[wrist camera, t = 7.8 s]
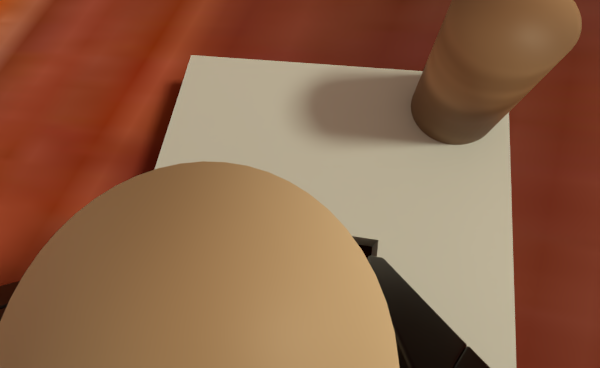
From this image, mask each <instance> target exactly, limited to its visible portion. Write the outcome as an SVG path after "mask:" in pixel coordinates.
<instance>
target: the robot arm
mask: <svg viewBox="0 0 600 368" xmlns="http://www.w3.org/2000/svg"><path fill="white" fill-rule="evenodd" d="M367 260H368V262H369V264H370V265H371V267H372V269H373V271H374V273H375V275H376V277H377V279H378V282H379V284H380V287H381V289H382V292H383V294H384V297H385V300H386V302H387V305H388V309H389V313H390V317H391V321H392V324H393V328H394V332H395V338H396V345H397V352H398V359H399V368H490V367H489V366H488V365H487V364H486V363H485V362H484V361H483V360H482V359H481V358H480V357H479V356H478V355H477V354H476V353H475V352H474V351H473V350H472V349H471V348H470V347H469V346H467V345H466V343H465V342H464V341H463V340H462V339H461V338H460V337H459V336H458V335H457V334H456V333H455V332H454V331H453V330H452V329H451V328H450V327H449V326H448V325H447V323H446V322H445V321H444V320H443V319H442V318H441V317H440V316H439V315H438V314H437V313H436V312H435V311H434V310H433V309H432V308H431V307H430V306H429V305H428V304H427V303H426V302H425V301H424V300H423V299H422V298H421V296H420V295H419V294H418V293H417V292H416V291H415V290H414V289H413V288H412V287H411V286H410V285H409V284H408V283H407V282H406V281H405V280H404V279H403V278H402V277H401V276H400V275H399V274H398V273H397V272H396V271H395V269H394V268H393V267H392V266H391V265H390V264H389V263H388V262H387V261H386V260H385V259H384V258H382V257H376V256H368V258H367ZM19 282H20V281H18V282H14V283H10V284H7V285H3V286H0V321H1V319H2V316H3V314H4V312H5V309H6V307H7V305H8V303H9V300H10V298H11V296H12V295H13V293H14V291H15V289H16V288H17V286H18V284H19Z"/></svg>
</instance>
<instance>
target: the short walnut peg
mask: <svg viewBox="0 0 600 368" xmlns="http://www.w3.org/2000/svg"><path fill="white" fill-rule="evenodd" d="M581 26H582V23H581V16H580V12H579V10H578V7H577V5H576V4H575V2H574V1H573V0H452V2H451V4H450V6H449V9H448V11H447V14H446V16H445V19H444V21H443V23H442V26H441V28H440V31H439V33H438V36H437V38H436V41H435V43H434V45H433V48H432V50H431V53H430V55H429V58H428V60H427V63H426V65H425V67H424V70H423V72H422V75H421V77H420V80H419V82H418V85H417V87H416V89H415V92H414V94H413V97H412V101H411V112H412V116H413V119H414V121H415V123H416V124H417V126H418V127H419V128H420V129H421V130H422V132H424V133H425V134H426V135H427V136H429V137H430V138H432V139H434V140H436V141H439V142H441V143H445V144H451V145H463V144H469V143H472V142H475V141H477V140H479V139H481V138H482V137H484V136H485V135H486V134H487V133H488V132H489V131H490V130H491V129H492V128H493V127H494V126H495V125H496V124H497V123H498V122H499V121H500V120H501V119H502V118H503V117H504V116H505V115H506V114H507V113H508V112H509V111H510V110H511V109H512V108H513V107H514V106H515V105H516V104H517V103H518V102H519V101H520V100H521V99H522V98H523V97H524V96H525V95H526V94H527V93H528V92H529V91H530V90H531V89H532V88H533V87H534V86H535V85H536V84H537V83H538V82H539V81H540V80H541V79H542V78H543V77H544V76H545V75H546V74H547V73H548V72H549V71H550V70H551V69H552V68H553V67H554V66H555V65H556V64H557V63H558V62H559V61H560V60H561V59H562V58H563V57H564V56H565V55H566V54H567V53H568V52H569V51H570V50H571V49H572V48H573V47H574V45H575V44H576V42H577V41H578V39H579V36H580V33H581Z"/></svg>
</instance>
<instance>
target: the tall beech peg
mask: <svg viewBox="0 0 600 368" xmlns="http://www.w3.org/2000/svg"><path fill="white" fill-rule="evenodd" d="M0 368H399V359H398V352H397V345H396V338H395V332H394V328H393V324H392V321H391V317H390V313H389V309H388V305H387V302H386V300H385V297H384V294H383V292H382V289H381V287H380V284H379V282H378V279H377V277H376V275H375V273H374V271H373V269H372V267H371V265H370V264H369V262H368V260H367V258H366V256H365V254H364V253H363V251H362V249H361V248H360V247H359V245H358V244H357V242H356V241H355V240H354V238H353V237H352V236H351V234H350V233H349V231H348V230H347V229H346V228H345V226H344V225H343V224H342V223H341V222H340V221H339V220H338V219H337V218H336V217H335V216H334V215H333V214H332V213H331V212H330V210H329V209H327V208H326V207H325V206H324V205H322V204H321V203H320V202H319V201H318V200H316V199H315V198H314V197H313V196H311V195H310V194H309V193H307V192H306V191H304V190H302V189H301V188H299V187H297V186H296V185H294V184H293V183H291V182H289V181H287V180H285V179H283V178H280V177H278V176H276V175H274V174H272V173H269V172H266V171H263V170H260V169H256V168H253V167H250V166H246V165H240V164H234V163H227V162H206V161H202V162H191V163H180V164H176V165H171V166H167V167H162V168H158V169H155V170H152V171H149V172H146V173H143V174H140V175H138V176H135V177H133V178H131V179H129V180H127V181H125V182H123V183H121V184H118V185H116V186H115V187H113V188H111V189H110V190H108V191H107V192H105V193H103V194H102V195H100V196H98V197H97V198H95V199H94V200H93V201H91V202H90V203H89V204H87V205H86V206H85V207H84V208H82V209H81V210H80V211H78V212H77V213H76V214H75V215H74V216H73V217H72V218H71V219H70V220H68V221H67V222H66V223H65V224H64V225H63V226H62V227H61V228H60V229H59V230H58V231H57V232H56V233H55V234H54V236H53V237H52V238H51V239H50V240H49V241H48V243H47V244H46V245H45V246H44V247H43V248H42V250H41V251H40V252H39V253H38V255H37V256H36V258H35V259H34V261H33V262H32V263H31V265H30V266H29V268H28V269H27V271H26V272H25V274H24V275H23V277H22V279H21V280H20V282H19V284H18V286H17V288H16V289H15V291H14V293H13V295H12V296H11V298H10V300H9V303H8V305H7V307H6V309H5V312H4V314H3V316H2V319H1V321H0Z"/></svg>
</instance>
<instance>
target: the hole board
mask: <svg viewBox="0 0 600 368" xmlns="http://www.w3.org/2000/svg"><path fill="white" fill-rule="evenodd" d="M422 72H423V71H410V70H396V69H381V68H367V67H353V66H339V65H324V64H310V63H296V62H281V61H267V60H253V59H239V58H224V57H210V56H196V55H191V57H190V61H189V64H188V67H187V70H186V73H185V76H184V79H183V82H182V85H181V88H180V92H179V95H178V98H177V101H176V104H175V107H174V110H173V113H172V116H171V119H170V123H169V126H168V129H167V132H166V135H165V138H164V141H163V144H162V147H161V150H160V154H159V157H158V160H157V163H156V166H155V169H158V168H162V167H167V166H171V165H176V164H180V163H191V162H202V161H206V162H227V163H234V164H240V165H246V166H250V167H253V168H256V169H260V170H263V171H266V172H269V173H272V174H274V175H276V176H278V177H280V178H283V179H285V180H287V181H289V182H291V183H293V184H294V185H296V186H297V187H299V188H301V189H302V190H304V191H306V192H307V193H309V194H310V195H311V196H313V197H314V198H315V199H316V200H318V201H319V202H320V203H321V204H322V205H324V206H325V207H326V208H327V209H329V210H330V212H331V213H332V214H333V215H334V216H335V217H336V218H337V219H338V220H339V221H340V222H341V223H342V224H343V225H344V226H345V228H346V229H347V230H348V231H349V233H350V234H351V236H352V237H353V238H354V240H355V241H356V242H357V244H358V245H365V246H371V247H372V253H371V256H376V257H382V258H384V259H385V260H386V261H387V262H388V263H389V264H390V265H391V266H392V267H393V268H394V269H395V271H396V272H397V273H398V274H399V275H400V276H401V277H402V278H403V279H404V280H405V281H406V282H407V283H408V284H409V285H410V286H411V287H412V288H413V289H414V290H415V291H416V292H417V293H418V294H419V295H420V296H421V298H422V299H423V300H424V301H425V302H426V303H427V304H428V305H429V306H430V307H431V308H432V309H433V310H434V311H435V312H436V313H437V314H438V315H439V316H440V317H441V318H442V319H443V320H444V321H445V322H446V323H447V325H448V326H449V327H450V328H451V329H452V330H453V331H454V332H455V333H456V334H457V335H458V336H459V337H460V338H461V339H462V340H463V341H464V342H465V343H466V345H467V346H469V347H470V348H471V349H472V350H473V351H474V352H475V353H476V354H477V355H478V356H479V357H480V358H481V359H482V360H483V361H484V362H485V363H486V364H487V365H488V366H489V367H490V368H516V339H515V305H514V270H513V236H512V202H511V168H510V133H509V112H508V113H507V114H506V115H505V116H504V117H503V118H502V119H501V120H500V121H499V122H498V123H497V124H496V125H495V126H494V127H493V128H492V129H491V130H490V131H489V132H488V133H487V134H486V135H485V136H484V137H482V138H481V139H479V140H477V141H475V142H472V143H469V144H463V145H451V144H445V143H441V142H439V141H436V140H434V139H432V138H430V137H429V136H427V135H426V134H425V133H424V132H422V130H421V129H420V128H419V127H418V126H417V124H416V123H415V121H414V119H413V116H412V112H411V101H412V97H413V94H414V92H415V89H416V87H417V85H418V82H419V80H420V77H421V75H422ZM155 169H154V170H155Z"/></svg>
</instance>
